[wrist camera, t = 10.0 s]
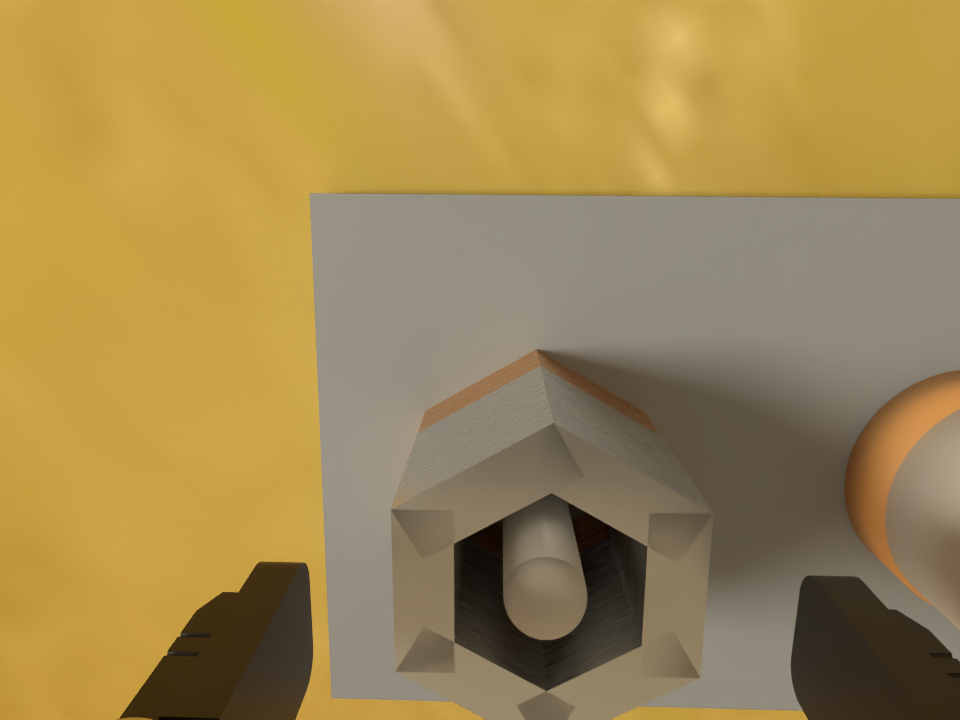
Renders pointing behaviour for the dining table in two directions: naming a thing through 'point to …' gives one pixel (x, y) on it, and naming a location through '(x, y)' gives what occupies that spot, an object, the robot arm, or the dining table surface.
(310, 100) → the dining table surface
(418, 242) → the pin board
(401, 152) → the dining table surface
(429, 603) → the sleeve
